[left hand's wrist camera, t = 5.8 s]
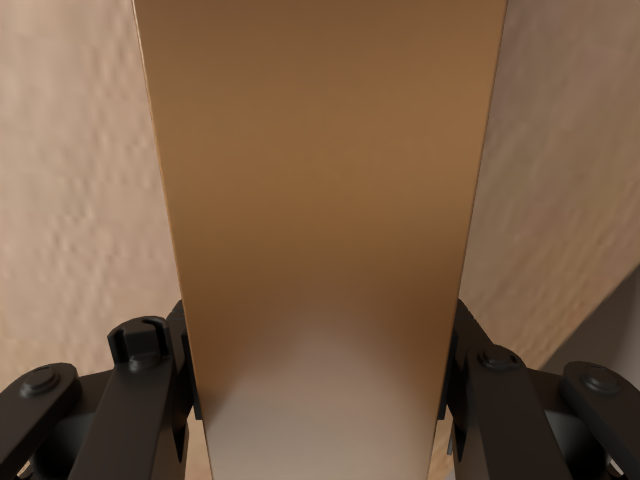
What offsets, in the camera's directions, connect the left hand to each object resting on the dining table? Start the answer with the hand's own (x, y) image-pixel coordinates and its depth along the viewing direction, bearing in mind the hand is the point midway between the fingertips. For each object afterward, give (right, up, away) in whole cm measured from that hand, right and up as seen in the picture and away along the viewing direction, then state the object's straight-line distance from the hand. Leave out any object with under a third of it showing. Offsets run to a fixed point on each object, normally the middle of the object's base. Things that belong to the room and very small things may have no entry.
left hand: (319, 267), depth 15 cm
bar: (0, +17, -6) cm, 18 cm away
